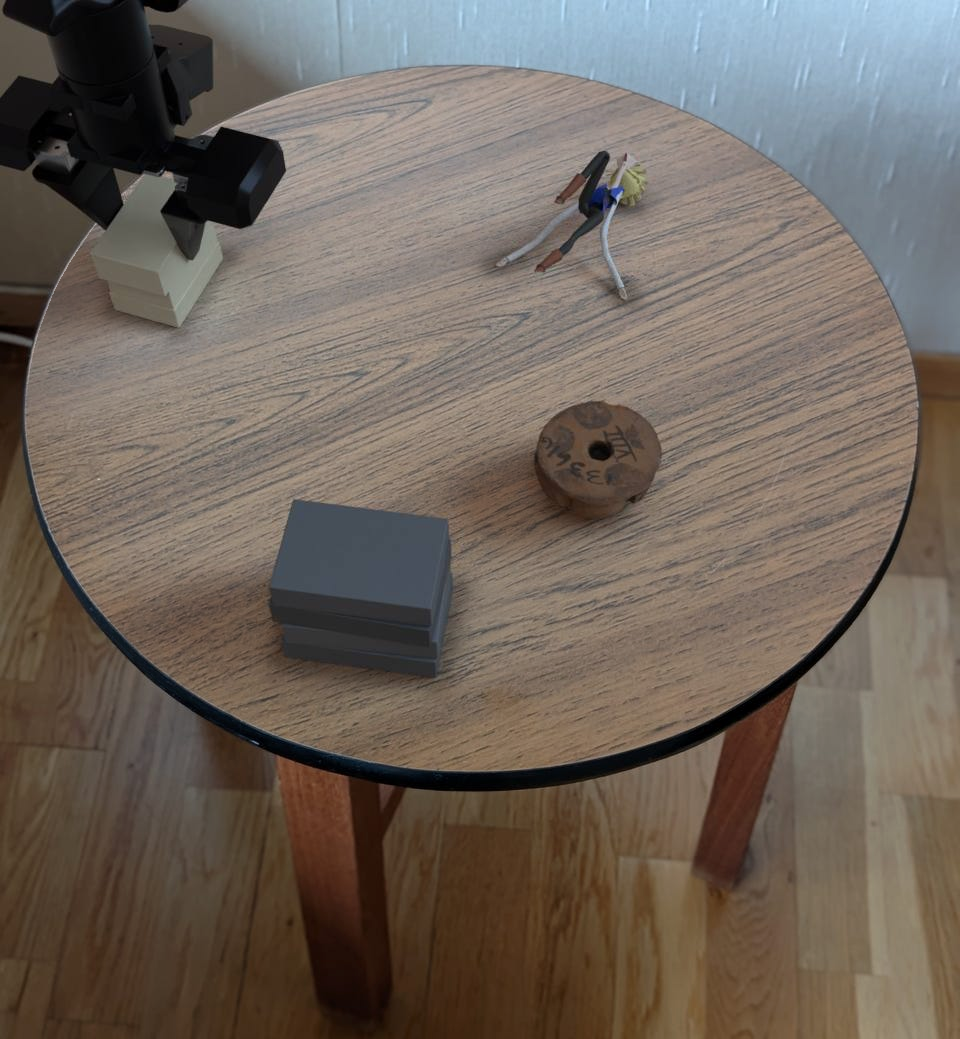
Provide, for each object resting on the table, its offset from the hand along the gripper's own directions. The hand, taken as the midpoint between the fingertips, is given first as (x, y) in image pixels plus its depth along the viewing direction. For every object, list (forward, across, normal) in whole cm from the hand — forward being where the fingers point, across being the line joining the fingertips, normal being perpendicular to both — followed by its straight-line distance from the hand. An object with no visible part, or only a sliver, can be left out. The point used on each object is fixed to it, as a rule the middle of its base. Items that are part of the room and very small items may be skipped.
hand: (158, 245), depth 91 cm
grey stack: (+4, -24, +20) cm, 31 cm away
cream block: (0, 0, 0) cm, 0 cm away
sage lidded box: (+4, 0, 0) cm, 4 cm away
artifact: (+4, -33, +7) cm, 34 cm away
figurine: (+4, -27, -13) cm, 31 cm away
